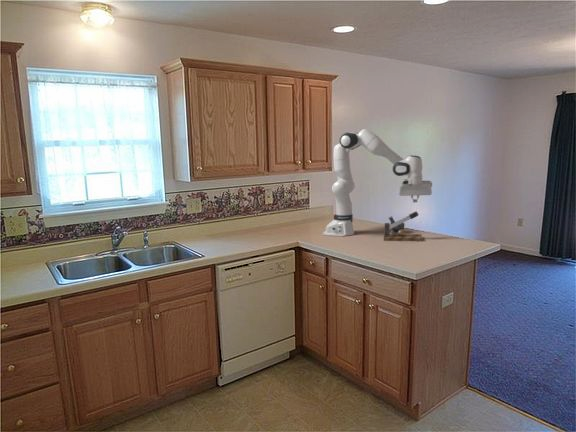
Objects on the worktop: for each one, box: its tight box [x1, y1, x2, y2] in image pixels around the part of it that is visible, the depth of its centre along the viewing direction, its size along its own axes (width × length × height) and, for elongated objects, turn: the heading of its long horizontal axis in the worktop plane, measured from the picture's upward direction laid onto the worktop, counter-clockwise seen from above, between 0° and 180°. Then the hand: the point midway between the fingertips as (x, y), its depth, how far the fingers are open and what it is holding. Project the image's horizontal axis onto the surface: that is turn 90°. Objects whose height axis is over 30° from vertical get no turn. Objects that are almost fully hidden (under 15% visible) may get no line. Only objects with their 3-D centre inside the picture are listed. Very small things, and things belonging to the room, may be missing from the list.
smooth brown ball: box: [398, 229, 406, 236], centre depth 271 cm, size 4×4×4 cm
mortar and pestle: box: [388, 216, 405, 234], centre depth 290 cm, size 11×9×12 cm
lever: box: [389, 211, 419, 230], centre depth 269 cm, size 21×4×3 cm, turn 75°
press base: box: [383, 222, 423, 242], centre depth 271 cm, size 24×12×10 cm, turn 76°
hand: (415, 202), depth 266 cm, fingers closed
